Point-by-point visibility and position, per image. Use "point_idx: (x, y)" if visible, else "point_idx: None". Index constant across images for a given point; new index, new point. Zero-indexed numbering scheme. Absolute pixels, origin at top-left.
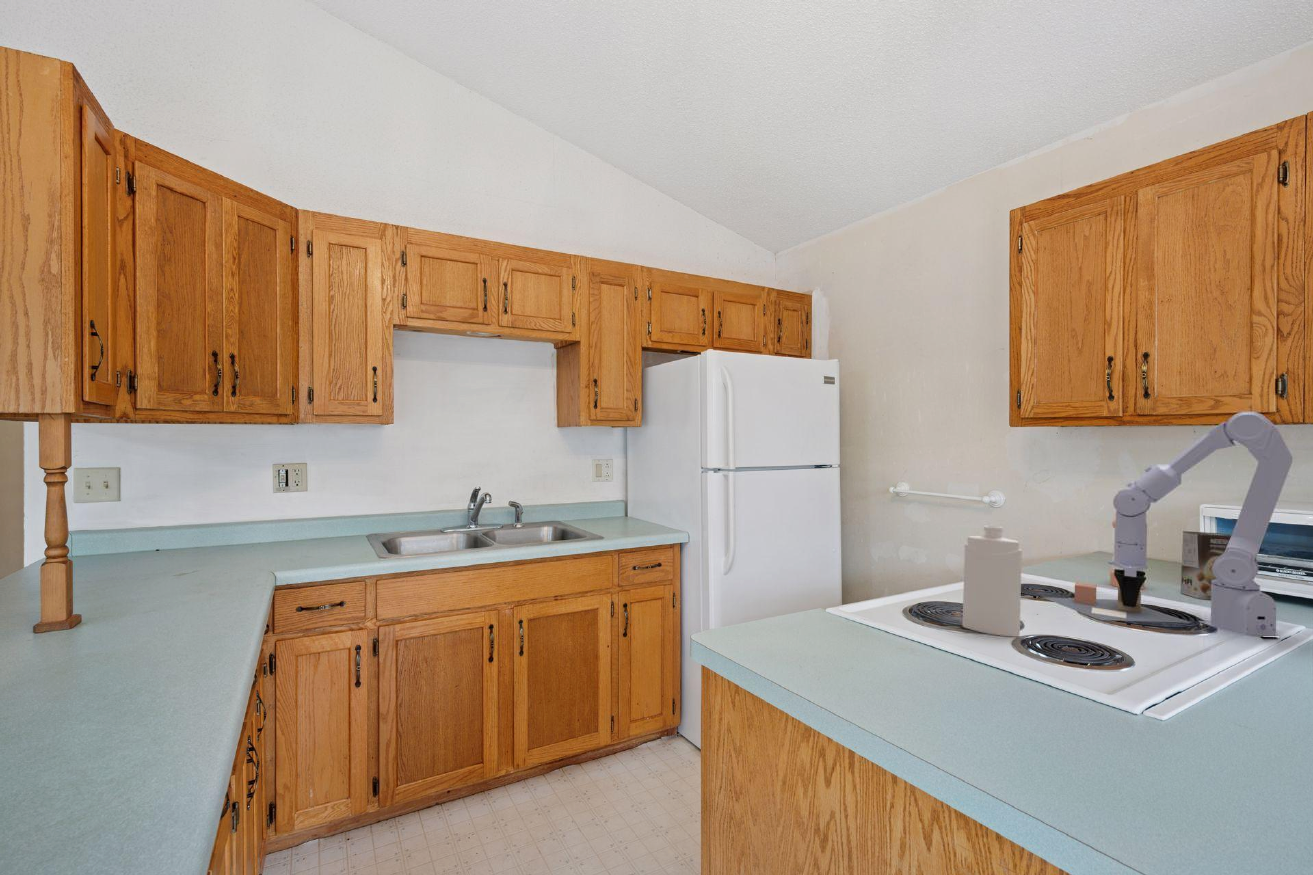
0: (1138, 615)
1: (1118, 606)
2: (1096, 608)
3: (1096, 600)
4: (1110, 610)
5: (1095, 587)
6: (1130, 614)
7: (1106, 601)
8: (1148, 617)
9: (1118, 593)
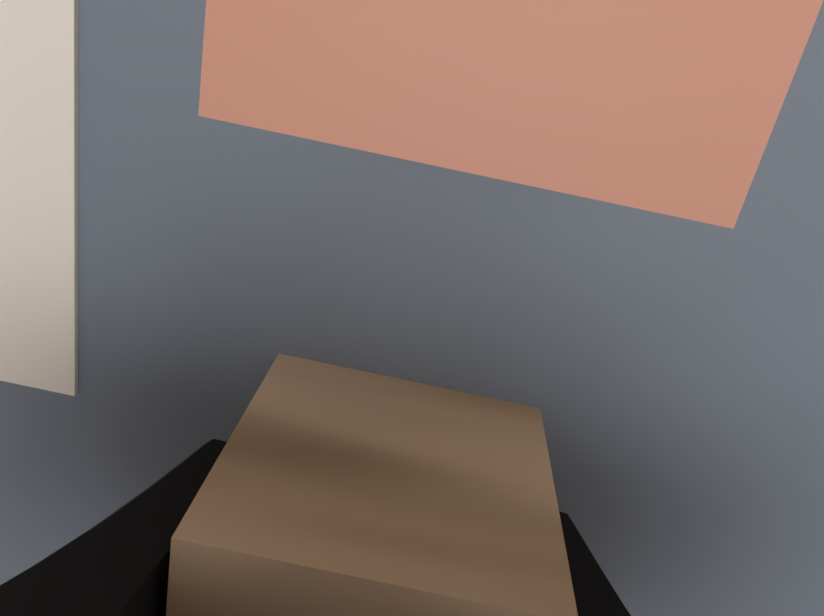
0: (34, 489)
1: (264, 378)
2: (38, 37)
3: (814, 185)
4: (49, 226)
5: (285, 115)
6: (15, 419)
7: (794, 326)
8: (8, 557)
9: (192, 505)
